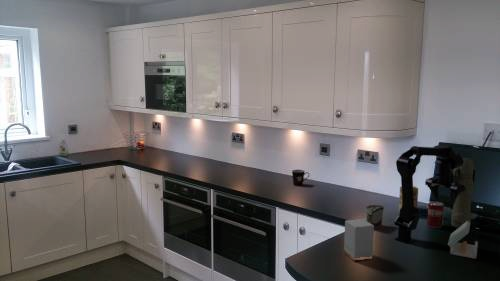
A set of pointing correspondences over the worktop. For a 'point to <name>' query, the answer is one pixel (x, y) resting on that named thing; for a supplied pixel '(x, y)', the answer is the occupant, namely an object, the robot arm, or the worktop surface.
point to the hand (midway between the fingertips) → (444, 201)
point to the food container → (374, 215)
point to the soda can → (435, 214)
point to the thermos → (463, 193)
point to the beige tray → (464, 249)
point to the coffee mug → (298, 177)
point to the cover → (459, 233)
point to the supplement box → (358, 238)
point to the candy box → (415, 194)
